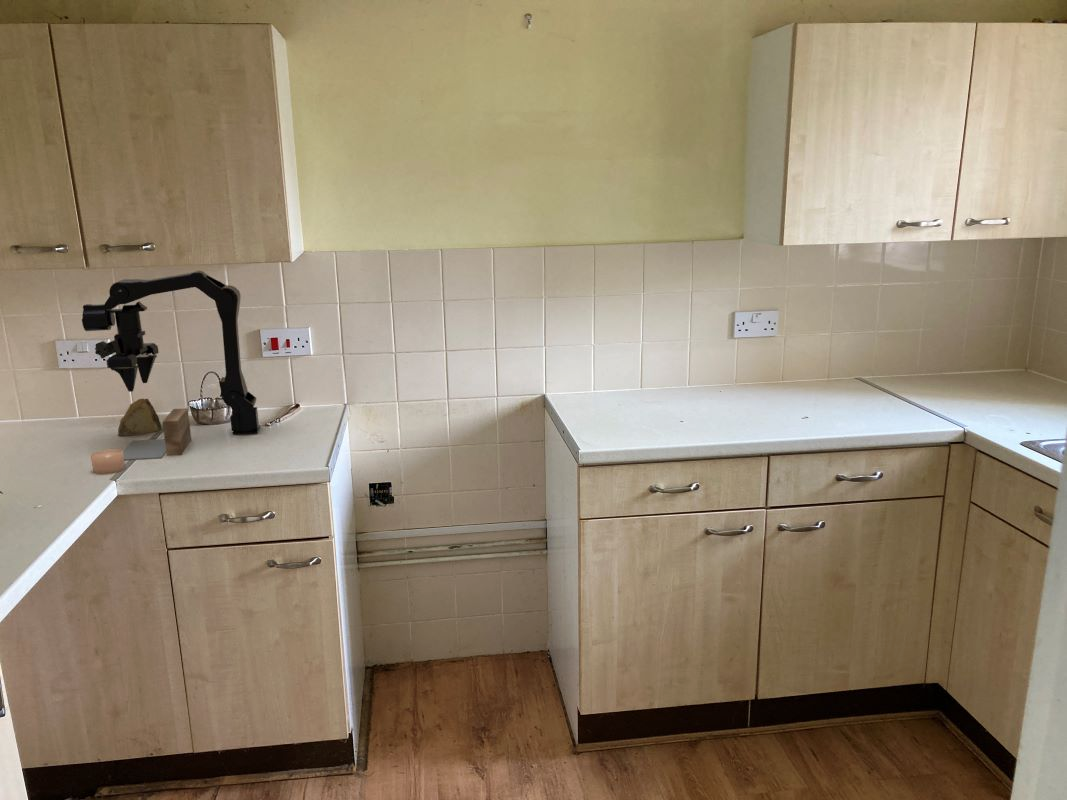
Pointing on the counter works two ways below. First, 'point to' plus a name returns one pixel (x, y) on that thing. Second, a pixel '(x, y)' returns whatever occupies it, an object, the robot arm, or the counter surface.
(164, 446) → the mat
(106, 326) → the robot arm
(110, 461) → the peach rounded cylinder
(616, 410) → the counter surface
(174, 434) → the slab
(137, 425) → the rock
